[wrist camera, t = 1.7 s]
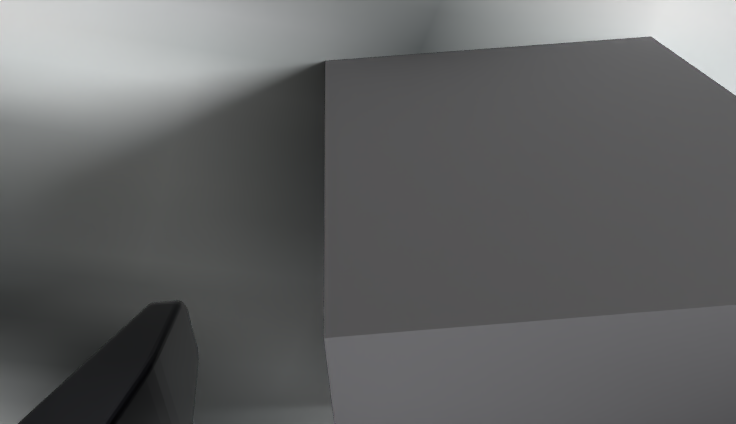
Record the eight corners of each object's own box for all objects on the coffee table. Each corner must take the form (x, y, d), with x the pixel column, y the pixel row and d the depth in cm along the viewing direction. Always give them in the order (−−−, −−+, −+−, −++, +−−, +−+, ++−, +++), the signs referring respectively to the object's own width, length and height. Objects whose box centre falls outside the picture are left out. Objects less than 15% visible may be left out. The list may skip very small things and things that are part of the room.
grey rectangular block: (590, 381, 11) (751, 728, 7) (358, 399, 11) (377, 761, 7) (648, 34, 8) (1003, 283, 4) (324, 58, 8) (323, 338, 4)
